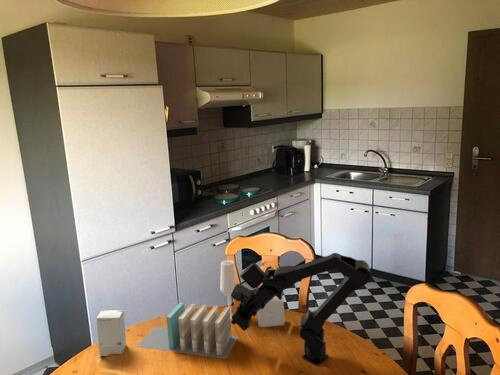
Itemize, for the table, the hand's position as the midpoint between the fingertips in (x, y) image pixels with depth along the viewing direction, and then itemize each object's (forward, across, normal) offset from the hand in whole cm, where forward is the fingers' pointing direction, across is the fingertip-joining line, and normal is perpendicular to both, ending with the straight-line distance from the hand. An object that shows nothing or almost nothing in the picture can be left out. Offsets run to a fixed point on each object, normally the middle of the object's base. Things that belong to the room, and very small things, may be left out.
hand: (232, 322), depth 144 cm
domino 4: (+12, 0, +1) cm, 12 cm away
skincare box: (+37, +10, -22) cm, 44 cm away
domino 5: (+9, 0, +4) cm, 10 cm away
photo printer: (+1, -18, +14) cm, 23 cm away
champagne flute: (+13, -20, +2) cm, 24 cm away
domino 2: (+18, 0, -5) cm, 19 cm away
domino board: (+20, 0, -5) cm, 20 cm away
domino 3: (+15, 0, -2) cm, 15 cm away
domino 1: (+22, 0, -8) cm, 23 cm away
